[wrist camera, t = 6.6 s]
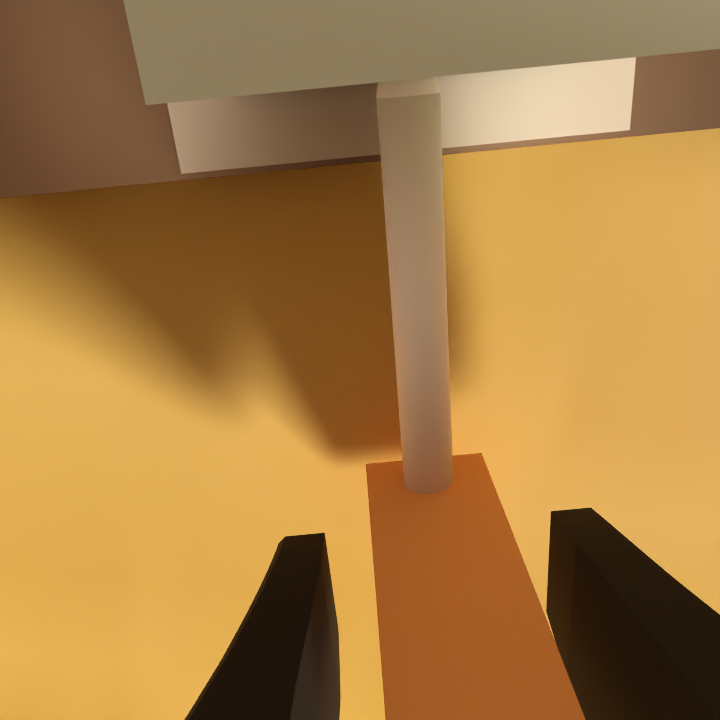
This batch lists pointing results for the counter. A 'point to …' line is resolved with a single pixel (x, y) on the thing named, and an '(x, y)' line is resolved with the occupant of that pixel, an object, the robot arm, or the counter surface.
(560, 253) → the counter surface
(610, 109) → the lane shelf
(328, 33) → the rod with orange block
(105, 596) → the counter surface
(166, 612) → the counter surface
